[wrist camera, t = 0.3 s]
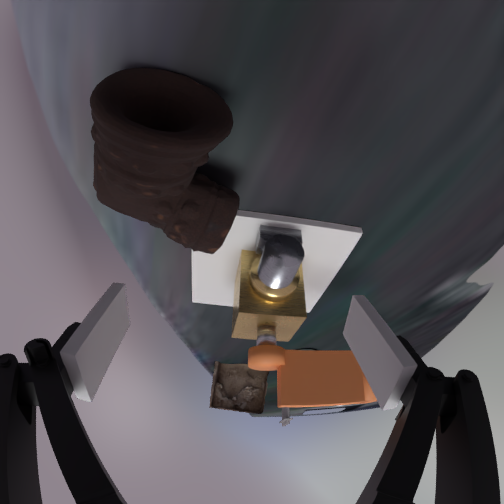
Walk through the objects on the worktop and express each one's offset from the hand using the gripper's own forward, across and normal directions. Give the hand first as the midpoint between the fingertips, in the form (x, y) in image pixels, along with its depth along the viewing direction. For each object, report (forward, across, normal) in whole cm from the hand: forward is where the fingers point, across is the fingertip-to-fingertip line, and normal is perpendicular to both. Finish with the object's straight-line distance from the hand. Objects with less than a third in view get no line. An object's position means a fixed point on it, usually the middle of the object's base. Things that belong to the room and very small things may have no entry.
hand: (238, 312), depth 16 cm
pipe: (+15, -7, +9) cm, 19 cm away
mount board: (+26, +4, -8) cm, 27 cm away
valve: (+25, +4, -7) cm, 27 cm away
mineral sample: (+52, +4, -49) cm, 72 cm away
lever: (+14, +11, -14) cm, 23 cm away
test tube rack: (+93, +32, -112) cm, 149 cm away
